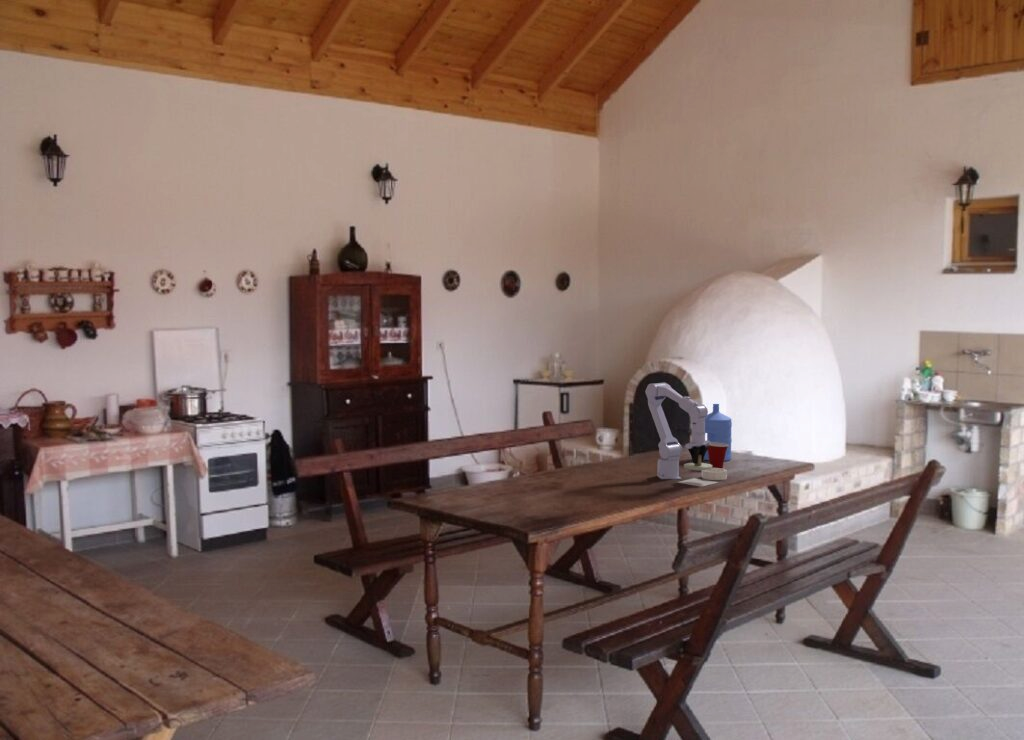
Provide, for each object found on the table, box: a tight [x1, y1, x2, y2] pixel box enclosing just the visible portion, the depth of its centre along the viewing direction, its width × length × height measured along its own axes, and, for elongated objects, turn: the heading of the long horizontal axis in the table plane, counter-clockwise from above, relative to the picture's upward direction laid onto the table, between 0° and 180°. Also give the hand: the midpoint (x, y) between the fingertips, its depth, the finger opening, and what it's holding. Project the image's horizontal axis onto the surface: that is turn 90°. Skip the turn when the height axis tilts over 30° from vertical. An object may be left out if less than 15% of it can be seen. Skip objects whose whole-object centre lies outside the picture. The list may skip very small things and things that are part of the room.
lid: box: [683, 455, 712, 471], centre depth 409 cm, size 12×12×6 cm
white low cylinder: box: [700, 468, 728, 481], centre depth 419 cm, size 11×11×4 cm
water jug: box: [703, 403, 733, 462], centre depth 468 cm, size 16×16×28 cm
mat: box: [676, 477, 719, 488], centre depth 410 cm, size 13×13×1 cm
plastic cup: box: [707, 442, 729, 469], centre depth 445 cm, size 11×11×12 cm
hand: (697, 463), depth 409 cm, fingers closed on lid, 3 cm apart
